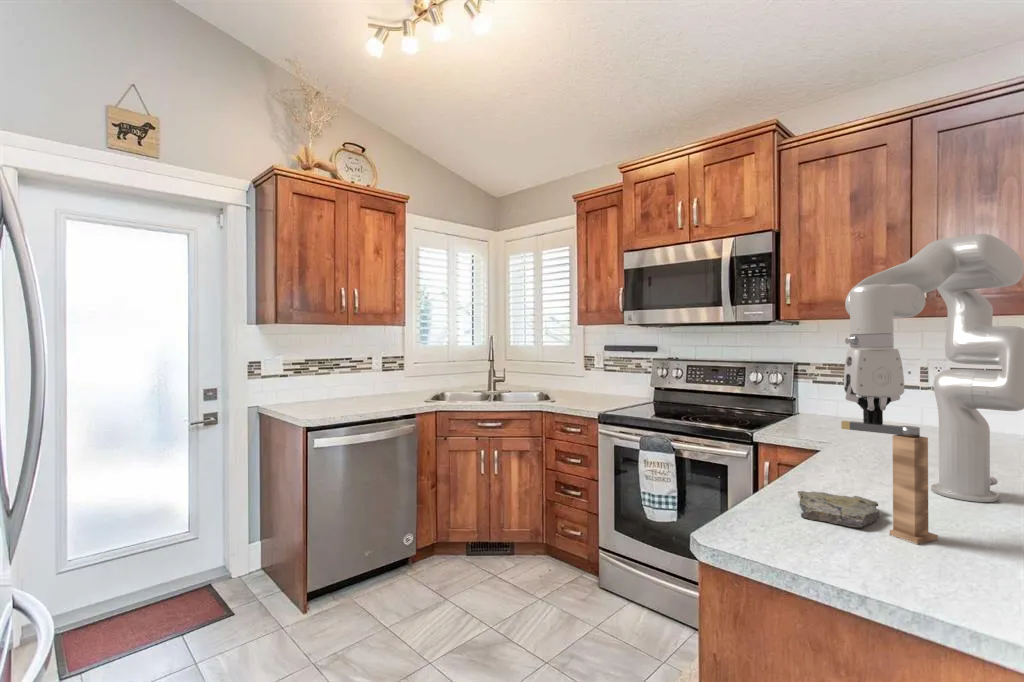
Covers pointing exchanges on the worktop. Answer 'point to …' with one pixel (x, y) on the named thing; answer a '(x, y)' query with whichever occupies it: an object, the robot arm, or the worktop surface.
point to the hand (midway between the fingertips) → (873, 428)
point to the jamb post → (910, 489)
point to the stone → (838, 508)
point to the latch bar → (882, 428)
